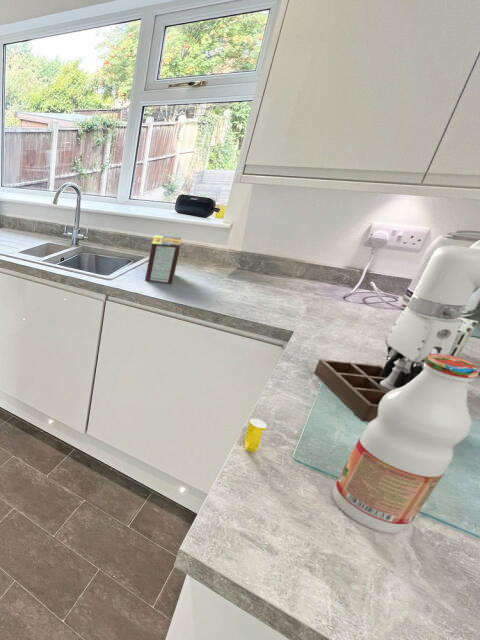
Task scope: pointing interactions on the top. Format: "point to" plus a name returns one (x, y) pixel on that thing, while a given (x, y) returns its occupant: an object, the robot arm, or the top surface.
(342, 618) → the top surface
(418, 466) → the fruit juice
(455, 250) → the robot arm
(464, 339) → the candy bar box
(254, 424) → the yellow pill bottle
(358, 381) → the grid
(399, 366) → the rook chess piece
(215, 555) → the top surface
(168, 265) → the protein box
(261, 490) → the top surface
